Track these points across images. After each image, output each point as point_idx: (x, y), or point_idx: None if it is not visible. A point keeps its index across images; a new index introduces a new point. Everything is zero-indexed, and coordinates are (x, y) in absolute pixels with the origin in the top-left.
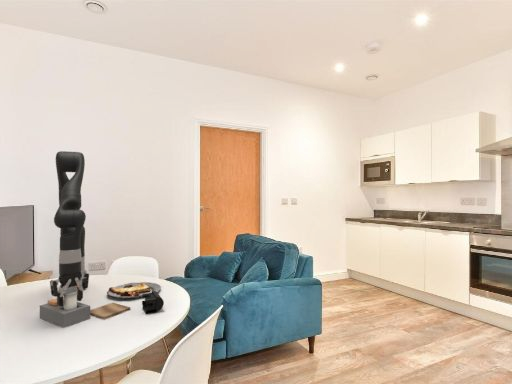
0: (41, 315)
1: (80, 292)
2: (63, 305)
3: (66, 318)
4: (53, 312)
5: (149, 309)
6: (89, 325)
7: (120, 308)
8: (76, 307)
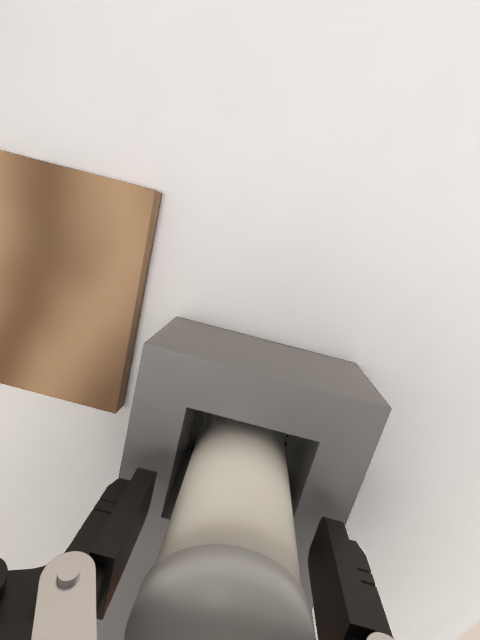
0: None
1: (111, 549)
2: None
3: (356, 383)
4: None
5: None
6: (279, 220)
7: None
8: (213, 437)
